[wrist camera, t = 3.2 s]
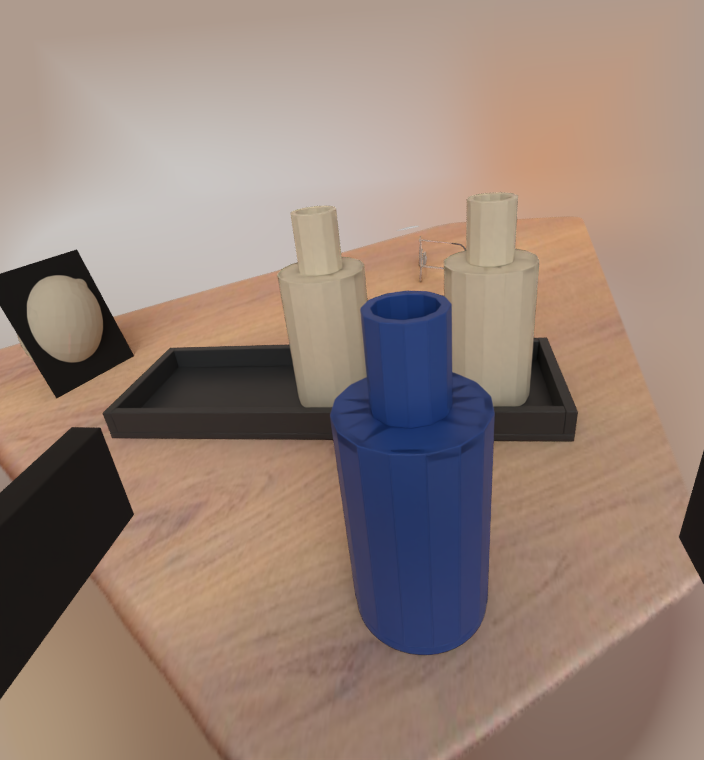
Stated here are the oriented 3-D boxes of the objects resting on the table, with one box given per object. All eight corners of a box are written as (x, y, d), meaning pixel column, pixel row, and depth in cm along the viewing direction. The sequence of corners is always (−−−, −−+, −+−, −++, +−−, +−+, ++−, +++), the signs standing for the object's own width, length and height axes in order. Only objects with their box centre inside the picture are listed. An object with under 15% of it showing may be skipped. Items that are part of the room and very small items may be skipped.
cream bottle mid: (391, 397, 46) (376, 205, 38) (328, 429, 43) (298, 225, 35) (345, 373, 51) (324, 198, 43) (286, 399, 47) (251, 215, 40)
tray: (544, 362, 49) (547, 337, 48) (574, 441, 38) (578, 411, 37) (176, 369, 55) (169, 347, 54) (111, 438, 45) (101, 413, 43)
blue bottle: (513, 599, 27) (536, 299, 19) (418, 684, 24) (398, 363, 16) (422, 529, 32) (409, 268, 24) (332, 591, 29) (284, 311, 21)
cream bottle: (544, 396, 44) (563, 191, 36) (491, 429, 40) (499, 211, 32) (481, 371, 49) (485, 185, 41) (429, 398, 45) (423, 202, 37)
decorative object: (22, 403, 57) (99, 363, 64) (70, 395, 51) (148, 352, 58) (-47, 294, 52) (43, 265, 60) (-4, 272, 47) (90, 242, 54)
